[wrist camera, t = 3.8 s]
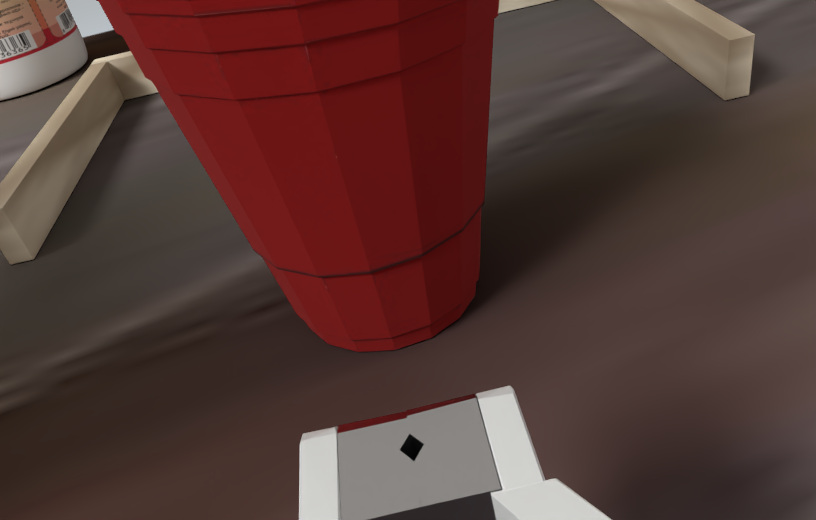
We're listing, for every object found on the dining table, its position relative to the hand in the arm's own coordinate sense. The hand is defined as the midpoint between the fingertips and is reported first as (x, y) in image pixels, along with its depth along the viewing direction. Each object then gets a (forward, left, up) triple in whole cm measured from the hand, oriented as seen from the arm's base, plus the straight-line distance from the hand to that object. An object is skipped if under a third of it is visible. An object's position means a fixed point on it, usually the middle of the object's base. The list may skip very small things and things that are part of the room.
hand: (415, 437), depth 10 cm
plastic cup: (0, +11, -6) cm, 13 cm away
